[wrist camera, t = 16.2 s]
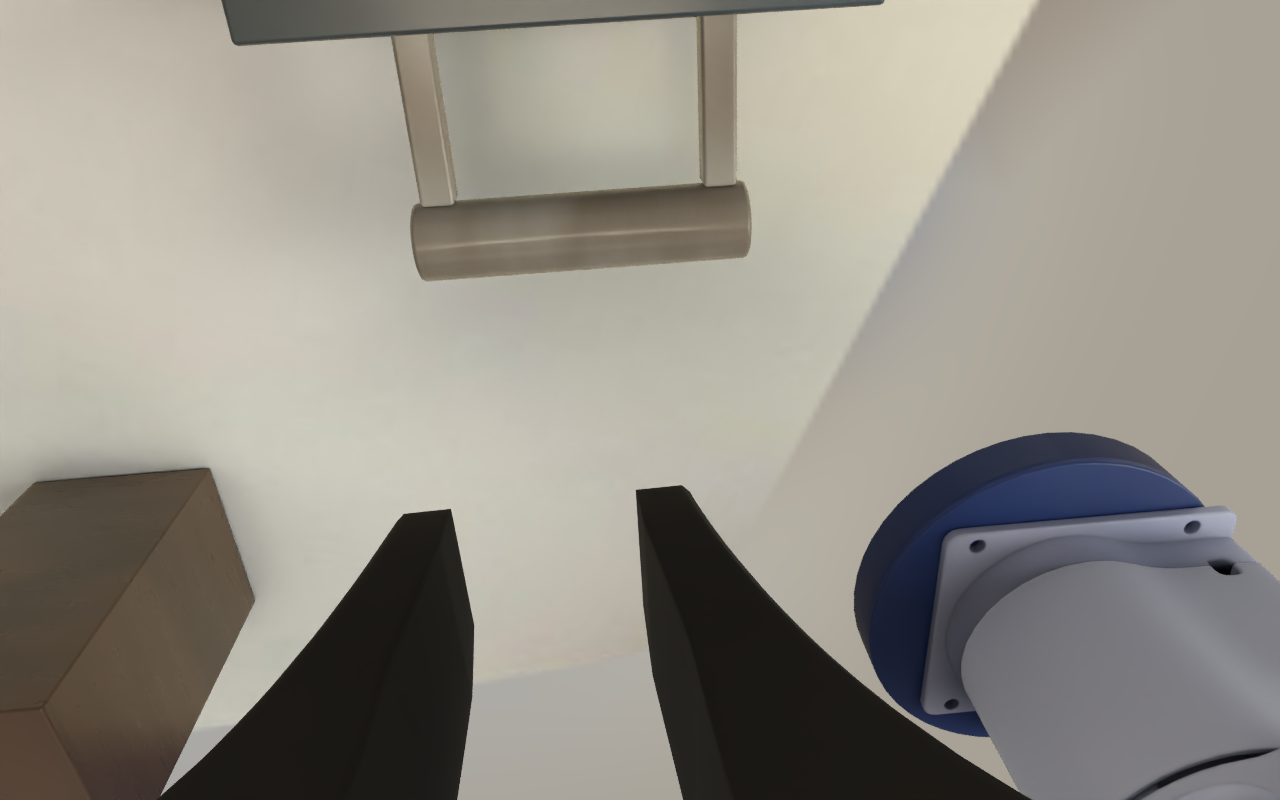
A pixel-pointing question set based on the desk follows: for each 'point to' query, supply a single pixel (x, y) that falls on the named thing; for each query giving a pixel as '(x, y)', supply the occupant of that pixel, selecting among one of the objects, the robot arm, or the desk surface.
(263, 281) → the desk surface
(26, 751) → the stand
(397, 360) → the desk surface
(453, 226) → the drawer
